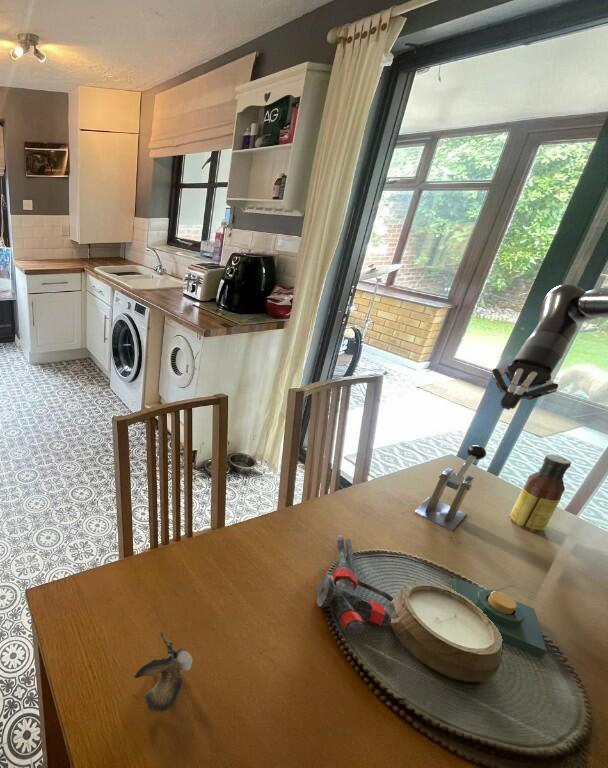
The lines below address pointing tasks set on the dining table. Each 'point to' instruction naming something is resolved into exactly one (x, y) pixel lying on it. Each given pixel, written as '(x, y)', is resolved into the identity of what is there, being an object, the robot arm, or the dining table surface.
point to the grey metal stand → (441, 511)
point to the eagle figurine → (165, 677)
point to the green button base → (507, 620)
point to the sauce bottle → (540, 495)
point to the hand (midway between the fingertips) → (505, 407)
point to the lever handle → (466, 466)
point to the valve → (350, 595)
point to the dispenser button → (502, 602)
